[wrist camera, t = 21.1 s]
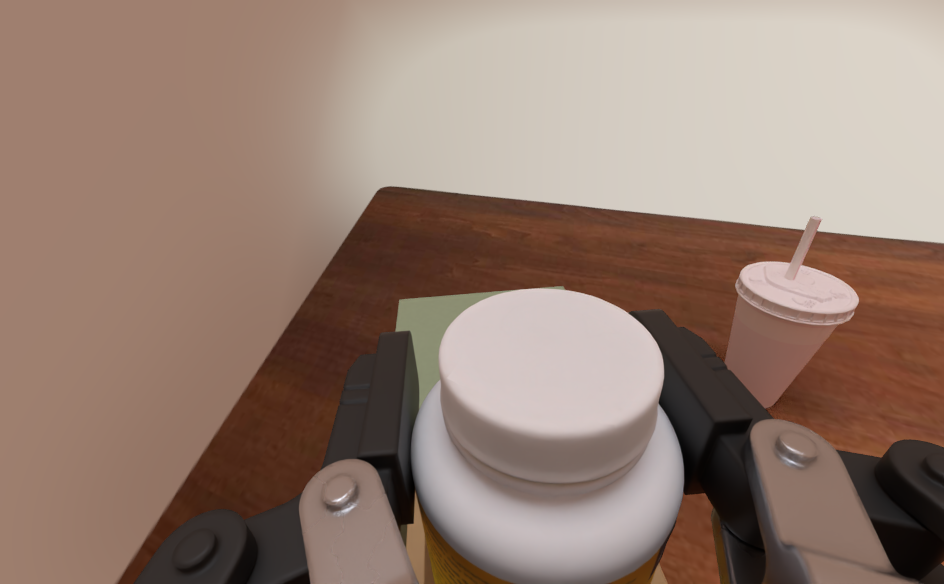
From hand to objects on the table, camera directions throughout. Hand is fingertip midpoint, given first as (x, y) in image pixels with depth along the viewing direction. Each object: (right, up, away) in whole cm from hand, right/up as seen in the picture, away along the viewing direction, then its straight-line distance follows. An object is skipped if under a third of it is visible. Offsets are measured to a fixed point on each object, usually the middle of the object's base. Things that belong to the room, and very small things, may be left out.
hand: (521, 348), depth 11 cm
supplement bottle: (+1, -8, +2) cm, 9 cm away
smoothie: (+20, -6, +21) cm, 30 cm away
